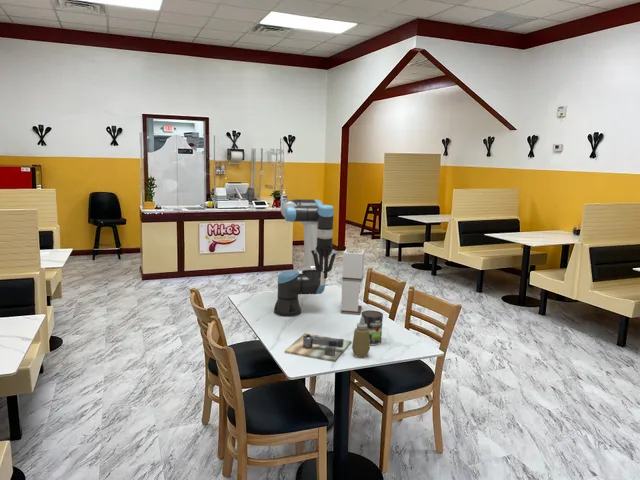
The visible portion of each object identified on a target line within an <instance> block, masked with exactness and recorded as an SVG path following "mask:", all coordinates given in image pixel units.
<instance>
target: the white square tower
mask: <svg viewBox="0 0 640 480" xmlns="http://www.w3.org/2000/svg"><path fill="white" fill-rule="evenodd" d="M342 254H343V255H342V256H343V257H342V259H343V260H342V279H341V281H342V282H341V301H340V302H341V303H340V304H341V305H340V306H341V307H340V314H342V315H355V316H361V313H362V310H363V309H362V307H363V306H362V305H359V299H360V293H361V285H362V284H363V281H364V269H365V268H364V267H365V250H364V249H363V250H362V251H361V252H355V253H354V252H348V248H346V249H345V250H344V251H343V253H342Z"/></svg>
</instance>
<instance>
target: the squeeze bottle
mask: <svg viewBox="0 0 640 480" xmlns="http://www.w3.org/2000/svg"><path fill="white" fill-rule="evenodd" d="M351 348H352V349H351V350H352V352H353V355H354V356H355V357H357V358H366V357H367V356H368V354H369V352H370V348H371V345H370V341H369V330H368V329H367V324H365V321H364V317H363V316H362V315H361V317H360V320H359V323H357V324H356V328H355V329H354V332H353V338H352V343H351Z"/></svg>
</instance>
